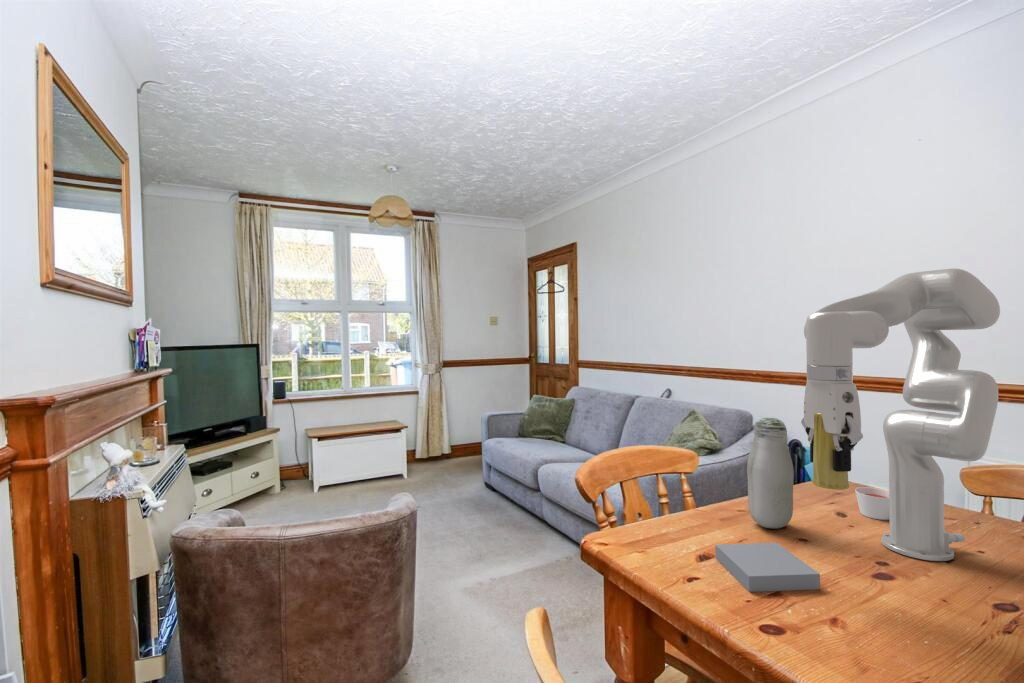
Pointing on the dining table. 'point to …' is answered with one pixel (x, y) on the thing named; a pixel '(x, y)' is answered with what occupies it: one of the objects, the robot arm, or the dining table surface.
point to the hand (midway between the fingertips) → (829, 465)
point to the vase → (826, 459)
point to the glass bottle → (770, 475)
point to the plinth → (766, 567)
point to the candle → (873, 502)
